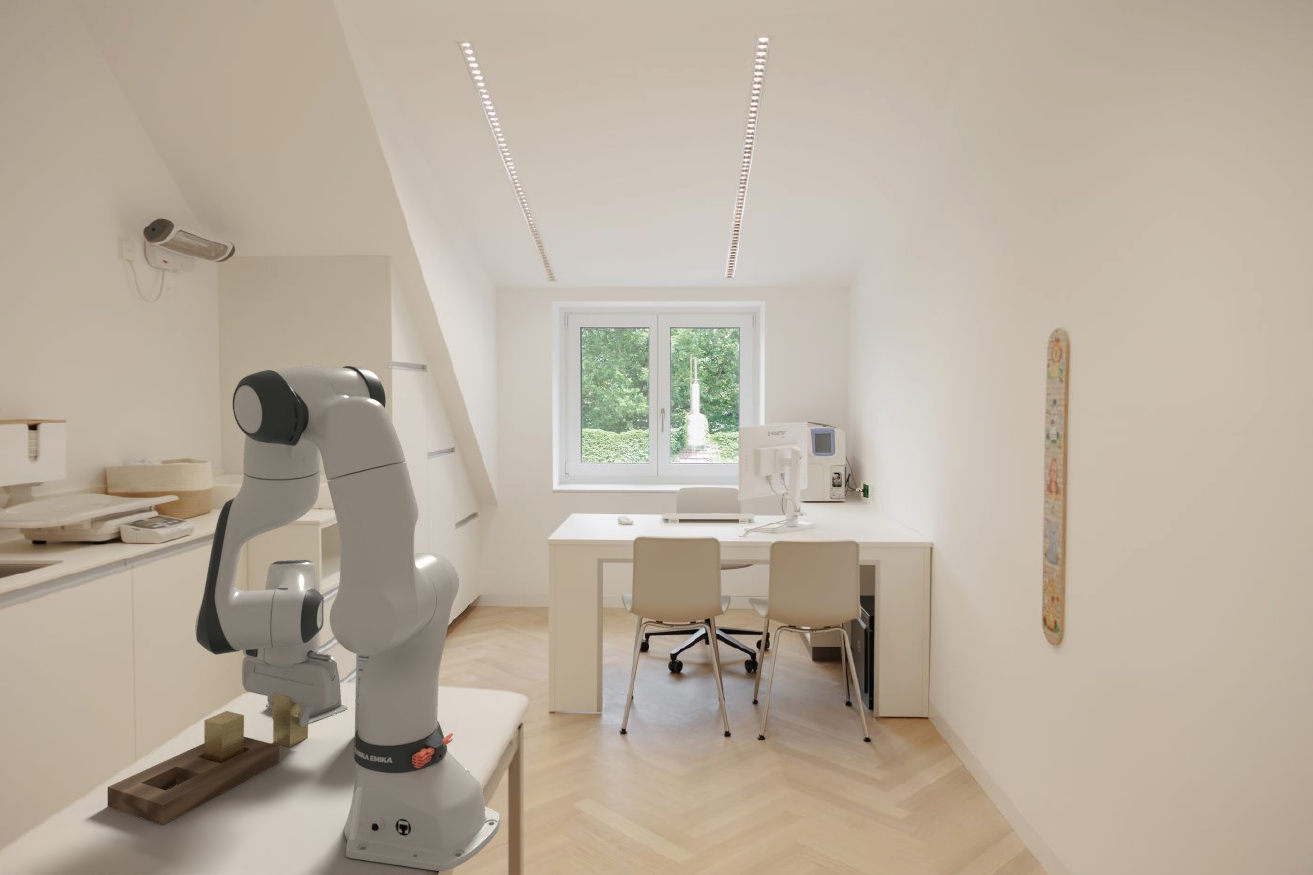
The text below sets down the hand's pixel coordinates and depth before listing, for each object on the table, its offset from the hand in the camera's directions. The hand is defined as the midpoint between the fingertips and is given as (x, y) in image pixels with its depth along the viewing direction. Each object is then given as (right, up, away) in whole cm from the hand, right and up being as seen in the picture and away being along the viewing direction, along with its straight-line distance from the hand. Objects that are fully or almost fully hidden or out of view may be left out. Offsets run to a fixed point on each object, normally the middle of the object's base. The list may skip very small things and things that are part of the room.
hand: (290, 722), depth 131 cm
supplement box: (+16, -4, +6) cm, 17 cm away
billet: (0, -3, 0) cm, 3 cm away
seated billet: (-5, -4, -11) cm, 13 cm away
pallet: (-7, -4, -15) cm, 17 cm away
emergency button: (-4, -3, +14) cm, 15 cm away
